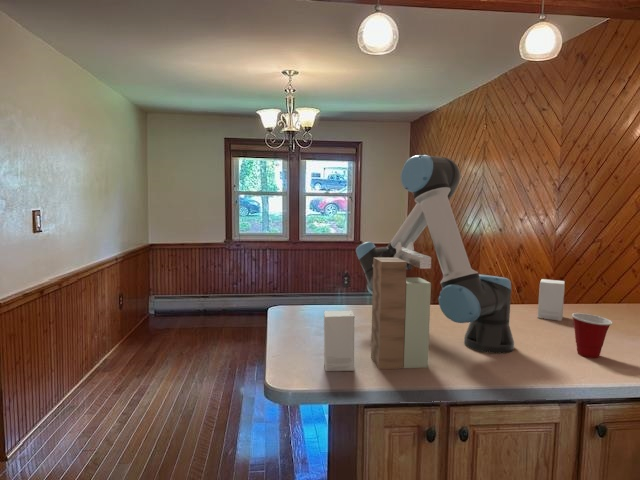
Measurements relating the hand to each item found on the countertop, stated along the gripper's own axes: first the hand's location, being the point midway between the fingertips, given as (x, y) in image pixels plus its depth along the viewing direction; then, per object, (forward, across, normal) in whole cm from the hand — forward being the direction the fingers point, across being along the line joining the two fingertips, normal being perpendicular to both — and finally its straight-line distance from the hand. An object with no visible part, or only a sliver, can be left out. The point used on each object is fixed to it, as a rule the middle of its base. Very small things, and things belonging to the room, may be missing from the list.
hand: (406, 246), depth 134 cm
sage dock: (-11, 0, -32) cm, 34 cm away
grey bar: (+2, 0, -6) cm, 6 cm away
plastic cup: (-12, -58, -32) cm, 67 cm away
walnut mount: (-11, +7, -32) cm, 35 cm away
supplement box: (-49, -74, -10) cm, 90 cm away
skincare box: (-9, +21, -33) cm, 41 cm away
